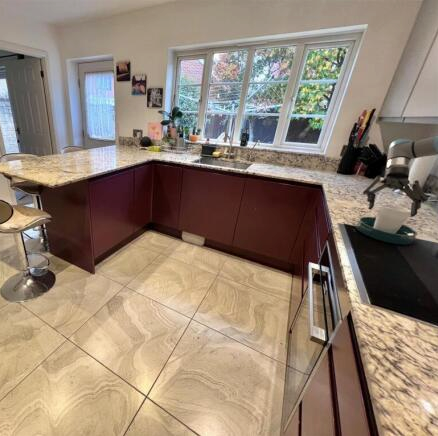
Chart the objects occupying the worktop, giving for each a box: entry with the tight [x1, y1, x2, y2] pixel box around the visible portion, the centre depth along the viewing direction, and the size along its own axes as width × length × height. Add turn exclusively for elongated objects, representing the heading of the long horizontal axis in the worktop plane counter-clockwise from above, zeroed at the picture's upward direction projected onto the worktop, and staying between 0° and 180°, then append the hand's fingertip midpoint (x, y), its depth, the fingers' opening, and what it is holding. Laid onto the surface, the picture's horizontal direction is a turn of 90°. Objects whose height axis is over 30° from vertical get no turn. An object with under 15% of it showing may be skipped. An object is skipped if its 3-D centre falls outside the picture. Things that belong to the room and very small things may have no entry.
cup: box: [373, 203, 411, 234], centre depth 98 cm, size 9×9×12 cm
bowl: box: [355, 216, 418, 246], centre depth 100 cm, size 18×18×4 cm
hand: (391, 211), depth 99 cm, fingers open, 13 cm apart
